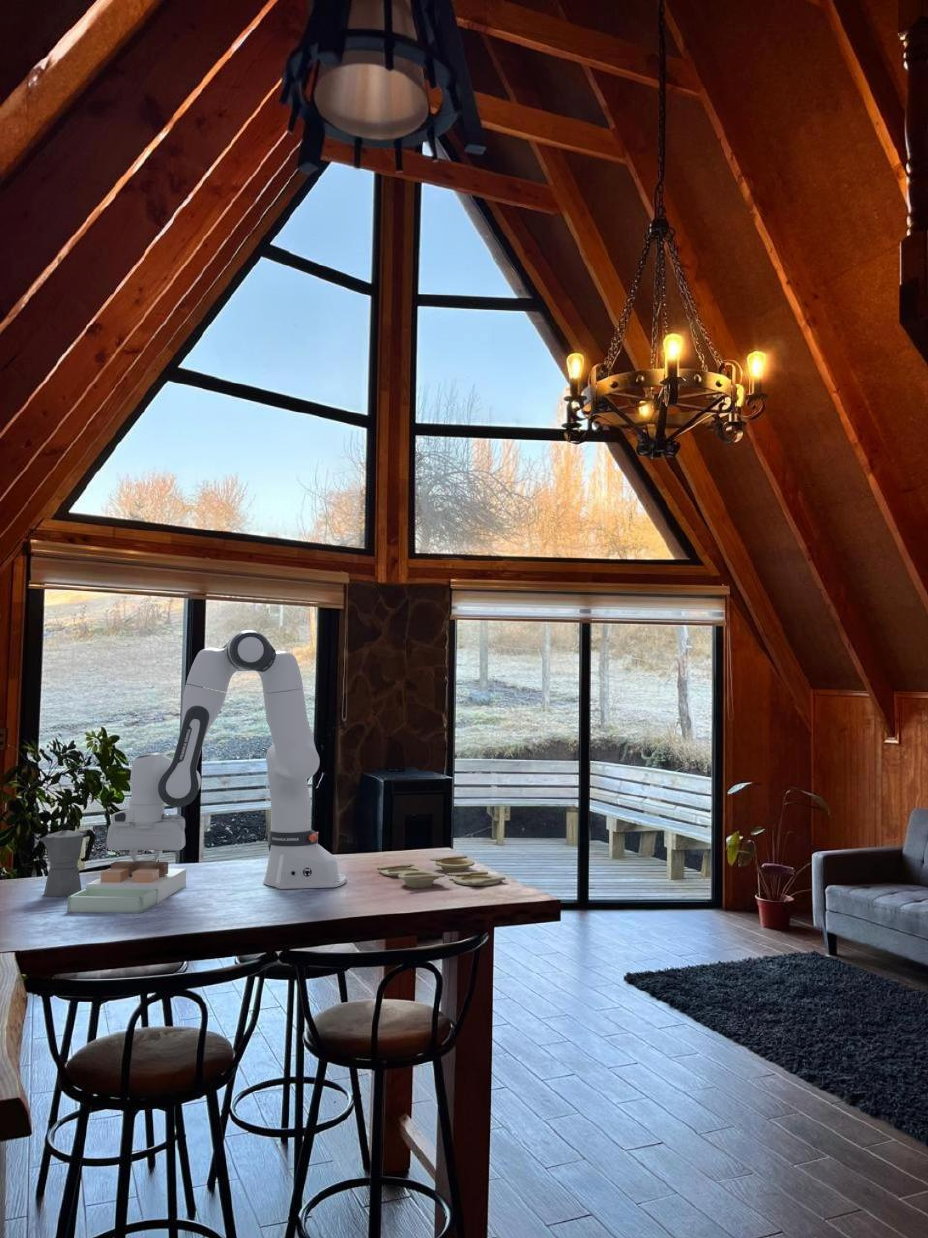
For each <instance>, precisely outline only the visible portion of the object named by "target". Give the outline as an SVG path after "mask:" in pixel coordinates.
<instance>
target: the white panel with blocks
mask: <svg viewBox="0 0 928 1238" xmlns="http://www.w3.org/2000/svg"><path fill="white" fill-rule="evenodd" d="M85 884H86V886H85V889H86V888H114V889H158V893H157V904H159V903H160V902H162V901H163V900H165V899H167V898H169V897H170V896H171V895H174V894H175V893H176V892H178V891H180V890H181V889H183V888H185V887H186V885H187V868H168V874H166V875H164V876H159V879H157V880H156V881H154V882H152V883H132V875H128V879H126V880H124V881H122V882H101V877H99V878H97V879H95V880H92V881H91V882H88V883H85ZM184 886H185V887H184Z"/></svg>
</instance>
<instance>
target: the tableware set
mask: <svg viewBox="0 0 928 1238" xmlns="http://www.w3.org/2000/svg"><path fill="white" fill-rule="evenodd" d="M467 858H468V855H455V856H445V857H430V858H429V861H432V862H435V866H438V867H440V868H441V870H442V871H443V873H438V872H432V871H430V870H429V871H428V870H426V869H425V868H422V867H418V866H415V864H414V863H408V862H407V863H400V864H397V865H396V864H394V865H385V866H377V867H376V870H378V871H380V874H381V875H383V876H388V877H392V878H393V877H395V878H399V879H400V880H403V881H404V884H405V885H406V887H408V888H413V889H414V888H415V889H423V888H424V889H425V888H430V887H432V885H433V883H434V881H435V880H438V879H440V878H445V877H446V876H447V877H453V880H452V881H453V882H454V883H456V884H457V885H464V886H470V887H471V886H472V887H473V886H474V887H475V886H477V887H479V886H481V887H482V886H485V887H486V886H493V885H497V884H500V883H502V881H506V880H507V879H506V876H497V875H491V874H489V871H487V870H486V871H468V869H469V868H470V867H473V866H475V863H476V862H475V861H474V860H472V859H471V860H470V859H467ZM445 873H446V874H445Z"/></svg>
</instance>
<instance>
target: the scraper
mask: <svg viewBox="0 0 928 1238" xmlns="http://www.w3.org/2000/svg"><path fill="white" fill-rule="evenodd" d="M155 856H156V855H150V856H145V857H143V858H141V859H138V860H139V861H137V862H134V861H131V860H129V861H121V860H118V861H114V862H111V863H110V868H128V875H132V872H134V871H136V870H138V869H159V876H164V875H166V874H168V869H169V861H160V858H159V859H158V862H150V861H151V860H154V858H155Z"/></svg>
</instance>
